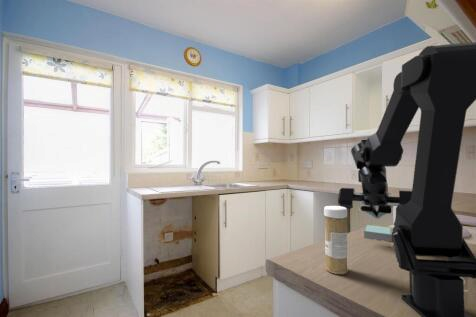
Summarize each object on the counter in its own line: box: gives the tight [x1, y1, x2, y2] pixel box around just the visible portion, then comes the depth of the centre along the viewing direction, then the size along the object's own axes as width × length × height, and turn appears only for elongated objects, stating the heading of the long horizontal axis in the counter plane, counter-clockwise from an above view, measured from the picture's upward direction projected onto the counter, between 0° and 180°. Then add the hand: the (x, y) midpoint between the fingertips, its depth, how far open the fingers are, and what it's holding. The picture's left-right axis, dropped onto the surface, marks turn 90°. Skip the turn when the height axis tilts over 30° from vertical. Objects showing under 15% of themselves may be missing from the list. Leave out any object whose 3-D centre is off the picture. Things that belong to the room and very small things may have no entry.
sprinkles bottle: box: [323, 205, 349, 275], centre depth 49 cm, size 5×5×13 cm
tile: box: [363, 224, 393, 243], centre depth 72 cm, size 2×7×8 cm
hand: (377, 217), depth 69 cm, fingers closed
